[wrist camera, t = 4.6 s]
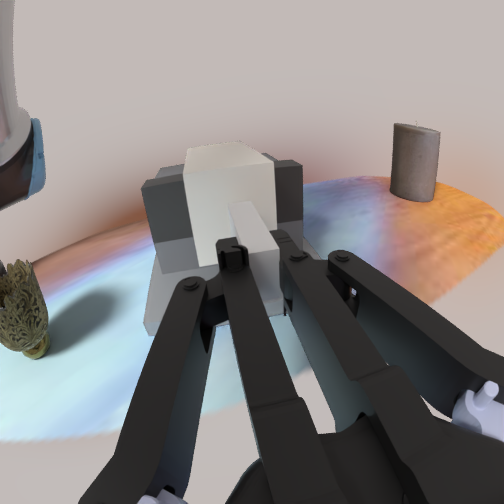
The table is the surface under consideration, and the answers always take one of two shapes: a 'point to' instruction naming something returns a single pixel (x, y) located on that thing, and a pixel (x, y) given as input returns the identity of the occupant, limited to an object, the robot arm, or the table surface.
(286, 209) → the guide
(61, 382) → the table surface
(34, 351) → the cup
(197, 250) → the peg
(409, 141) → the pillar candle
